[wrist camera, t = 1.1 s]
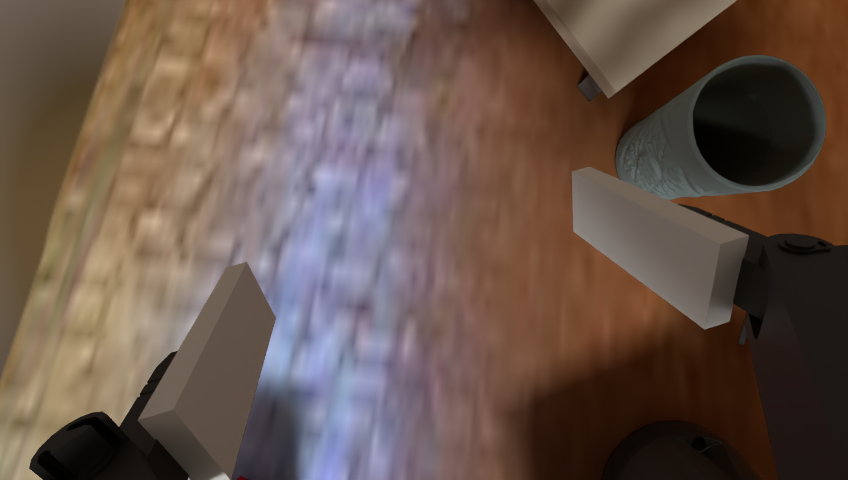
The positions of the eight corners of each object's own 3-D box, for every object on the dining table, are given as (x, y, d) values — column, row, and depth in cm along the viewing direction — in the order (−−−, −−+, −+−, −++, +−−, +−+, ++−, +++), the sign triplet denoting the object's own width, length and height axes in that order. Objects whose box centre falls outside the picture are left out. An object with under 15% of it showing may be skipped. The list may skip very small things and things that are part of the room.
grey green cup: (594, 189, 39) (671, 167, 27) (624, 97, 39) (714, 34, 27) (686, 218, 39) (803, 209, 27) (716, 126, 39) (847, 77, 27)
